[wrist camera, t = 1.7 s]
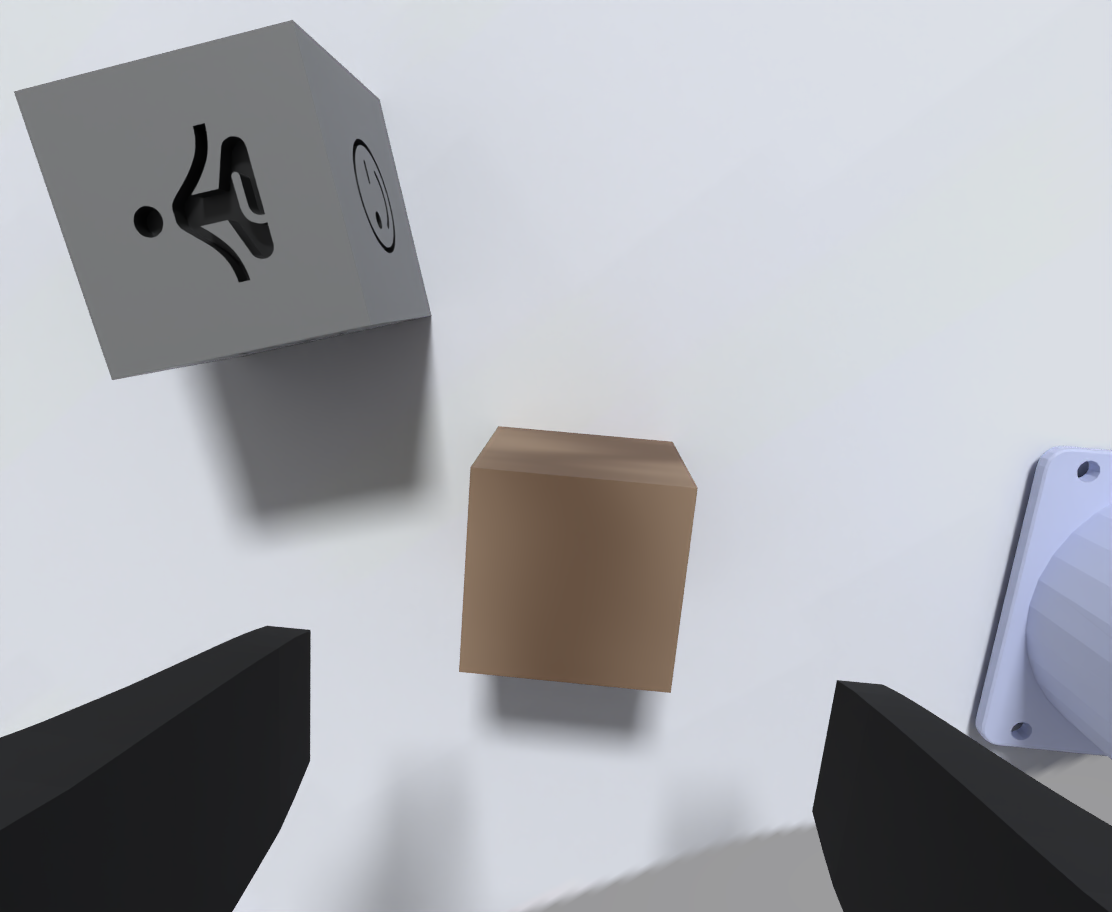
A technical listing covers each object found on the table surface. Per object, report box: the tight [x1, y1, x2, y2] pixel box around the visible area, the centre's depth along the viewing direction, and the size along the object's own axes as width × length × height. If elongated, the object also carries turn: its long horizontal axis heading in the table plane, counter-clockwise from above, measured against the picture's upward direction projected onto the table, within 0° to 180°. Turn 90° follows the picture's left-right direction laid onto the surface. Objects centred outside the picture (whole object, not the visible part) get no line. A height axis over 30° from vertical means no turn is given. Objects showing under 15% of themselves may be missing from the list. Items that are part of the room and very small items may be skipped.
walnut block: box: [459, 426, 697, 693], centre depth 16 cm, size 4×4×4 cm
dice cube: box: [14, 20, 431, 380], centre depth 15 cm, size 5×5×5 cm
